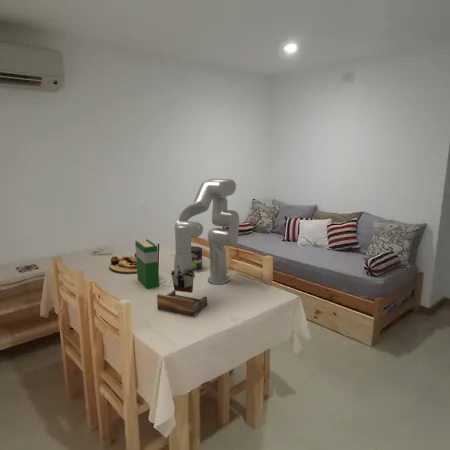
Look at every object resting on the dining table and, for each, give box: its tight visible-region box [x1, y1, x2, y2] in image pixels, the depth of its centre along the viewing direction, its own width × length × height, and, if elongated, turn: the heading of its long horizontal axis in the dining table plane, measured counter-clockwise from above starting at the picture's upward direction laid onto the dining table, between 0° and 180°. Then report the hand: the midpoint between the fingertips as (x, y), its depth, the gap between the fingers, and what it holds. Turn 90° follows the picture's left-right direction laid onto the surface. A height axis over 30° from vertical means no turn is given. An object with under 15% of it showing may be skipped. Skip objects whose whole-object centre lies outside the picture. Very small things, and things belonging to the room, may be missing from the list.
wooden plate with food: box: [109, 252, 137, 275], centre depth 242 cm, size 32×32×8 cm
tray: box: [156, 290, 208, 318], centre depth 178 cm, size 14×20×8 cm
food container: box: [170, 269, 196, 294], centre depth 179 cm, size 12×6×10 cm, turn 72°
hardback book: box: [134, 238, 160, 290], centre depth 209 cm, size 18×7×24 cm, turn 29°
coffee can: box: [191, 246, 203, 273], centre depth 233 cm, size 10×10×14 cm
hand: (184, 284), depth 179 cm, fingers closed on food container, 5 cm apart
